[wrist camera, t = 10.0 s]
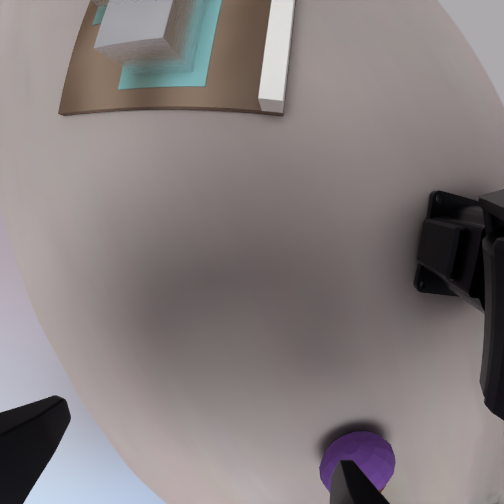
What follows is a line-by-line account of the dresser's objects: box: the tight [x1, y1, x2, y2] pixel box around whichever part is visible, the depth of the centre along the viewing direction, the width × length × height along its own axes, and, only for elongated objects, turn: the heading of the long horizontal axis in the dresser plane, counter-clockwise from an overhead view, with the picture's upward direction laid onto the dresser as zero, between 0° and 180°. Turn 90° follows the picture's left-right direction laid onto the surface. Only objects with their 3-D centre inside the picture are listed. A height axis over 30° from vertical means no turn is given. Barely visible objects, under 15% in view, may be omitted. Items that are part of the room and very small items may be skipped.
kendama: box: [319, 431, 395, 493], centre depth 20 cm, size 6×6×20 cm
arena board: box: [58, 0, 296, 116], centre depth 15 cm, size 16×16×1 cm
